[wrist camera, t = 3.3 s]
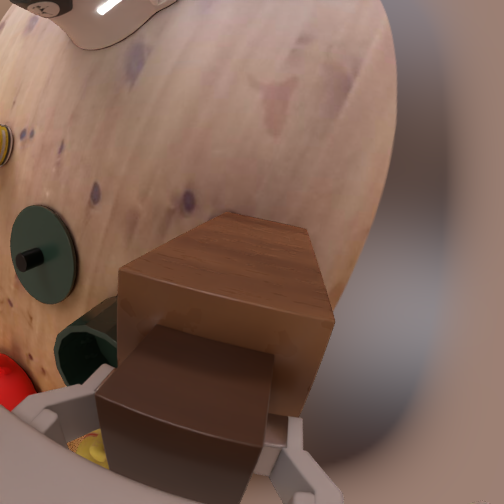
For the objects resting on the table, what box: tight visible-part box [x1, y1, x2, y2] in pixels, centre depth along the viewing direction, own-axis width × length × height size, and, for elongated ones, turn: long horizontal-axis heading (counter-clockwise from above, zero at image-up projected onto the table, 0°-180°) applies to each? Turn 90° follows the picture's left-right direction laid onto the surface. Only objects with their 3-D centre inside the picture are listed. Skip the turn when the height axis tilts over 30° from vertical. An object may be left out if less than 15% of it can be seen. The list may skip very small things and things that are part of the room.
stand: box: [117, 212, 335, 418], centre depth 21 cm, size 8×8×20 cm
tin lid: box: [10, 205, 76, 304], centre depth 32 cm, size 13×13×5 cm
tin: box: [54, 296, 118, 387], centre depth 31 cm, size 12×12×8 cm
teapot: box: [0, 353, 37, 412], centre depth 36 cm, size 25×16×12 cm, turn 153°
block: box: [95, 324, 275, 504], centre depth 9 cm, size 4×4×4 cm
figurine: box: [76, 428, 109, 470], centre depth 31 cm, size 11×9×15 cm
